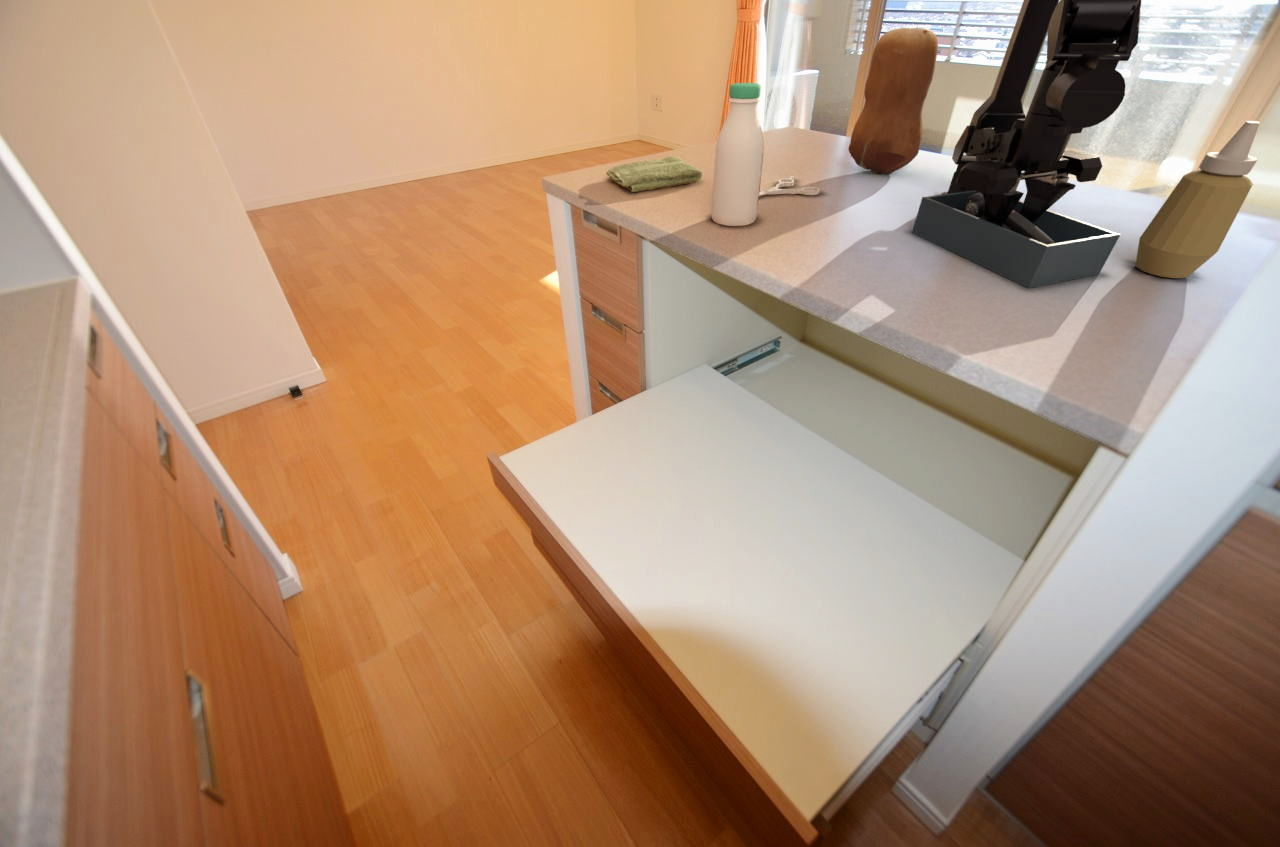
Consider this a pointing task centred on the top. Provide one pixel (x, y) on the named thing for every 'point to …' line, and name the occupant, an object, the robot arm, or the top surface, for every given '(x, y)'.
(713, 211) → the milk bottle
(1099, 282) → the top surface
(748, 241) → the top surface
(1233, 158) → the squeeze bottle
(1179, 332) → the top surface
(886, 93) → the butternut squash
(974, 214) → the can opener
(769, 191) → the scissors
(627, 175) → the washcloth
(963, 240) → the bin
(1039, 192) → the robot arm
